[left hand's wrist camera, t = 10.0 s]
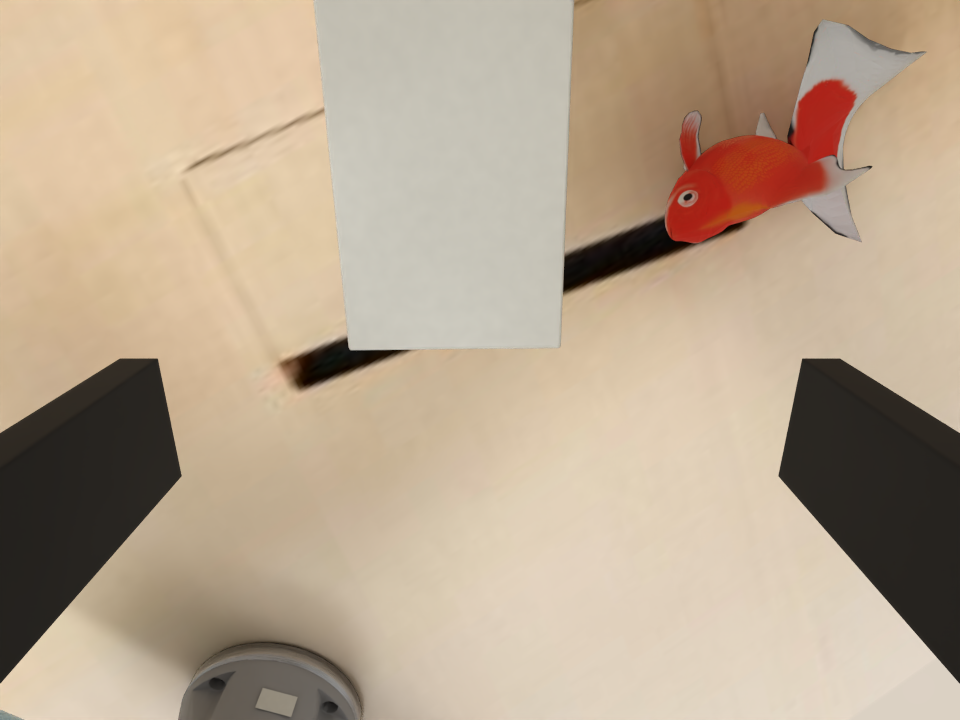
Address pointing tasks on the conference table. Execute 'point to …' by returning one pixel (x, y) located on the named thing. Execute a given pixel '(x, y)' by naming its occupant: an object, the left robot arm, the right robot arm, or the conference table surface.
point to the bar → (448, 168)
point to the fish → (786, 146)
